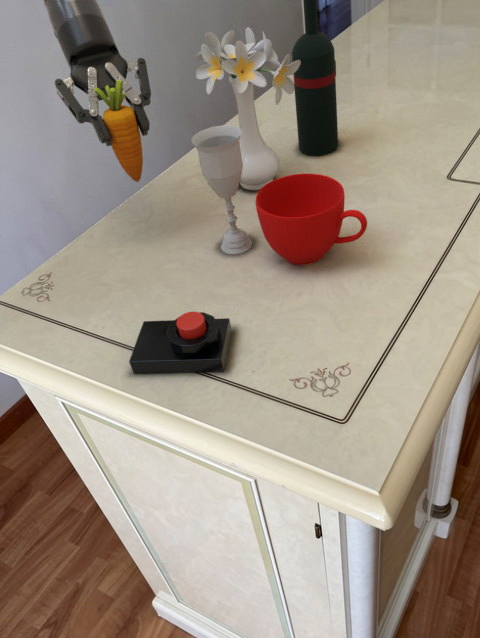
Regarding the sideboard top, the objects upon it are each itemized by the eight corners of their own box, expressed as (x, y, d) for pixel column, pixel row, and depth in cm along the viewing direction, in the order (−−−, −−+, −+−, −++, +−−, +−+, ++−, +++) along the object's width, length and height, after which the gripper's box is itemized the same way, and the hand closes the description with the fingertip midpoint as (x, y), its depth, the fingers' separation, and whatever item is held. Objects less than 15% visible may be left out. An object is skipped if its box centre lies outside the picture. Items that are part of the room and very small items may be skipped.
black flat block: (133, 373, 76) (124, 351, 74) (147, 333, 82) (139, 310, 79) (224, 371, 75) (218, 348, 72) (232, 330, 80) (227, 307, 78)
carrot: (116, 188, 92) (85, 88, 81) (129, 173, 95) (100, 75, 84) (145, 189, 91) (117, 88, 80) (157, 174, 94) (132, 75, 83)
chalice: (241, 228, 99) (222, 121, 86) (267, 242, 95) (251, 132, 82) (206, 247, 96) (181, 139, 83) (231, 263, 92) (210, 152, 79)
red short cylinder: (176, 340, 75) (173, 330, 73) (182, 322, 77) (179, 311, 76) (204, 339, 74) (201, 329, 73) (208, 321, 77) (206, 310, 75)
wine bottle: (350, 137, 119) (346, -40, 98) (326, 158, 114) (317, -24, 93) (316, 132, 123) (306, -40, 102) (291, 153, 117) (275, -25, 96)
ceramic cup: (348, 291, 84) (346, 230, 77) (248, 267, 91) (238, 208, 84) (383, 244, 91) (384, 184, 84) (288, 224, 98) (282, 167, 91)
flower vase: (291, 205, 102) (276, 49, 85) (201, 193, 109) (169, 46, 92) (319, 171, 110) (310, 21, 93) (233, 161, 117) (210, 20, 99)
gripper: (28, 24, 80) (78, 140, 81) (128, 1, 84) (175, 112, 84) (36, 56, 87) (82, 163, 88) (128, 34, 91) (171, 136, 92)
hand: (127, 137), depth 86 cm, fingers closed on carrot, 5 cm apart
